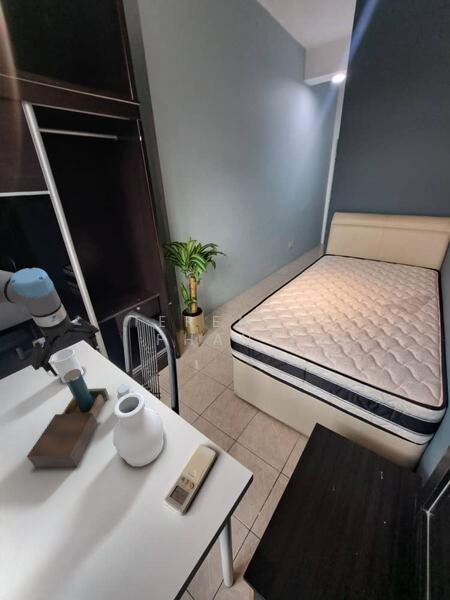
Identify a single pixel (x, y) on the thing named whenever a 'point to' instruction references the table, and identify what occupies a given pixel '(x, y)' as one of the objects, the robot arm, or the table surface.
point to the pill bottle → (123, 390)
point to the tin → (79, 390)
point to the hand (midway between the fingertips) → (75, 359)
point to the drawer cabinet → (63, 441)
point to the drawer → (96, 395)
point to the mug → (65, 362)
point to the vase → (137, 430)
